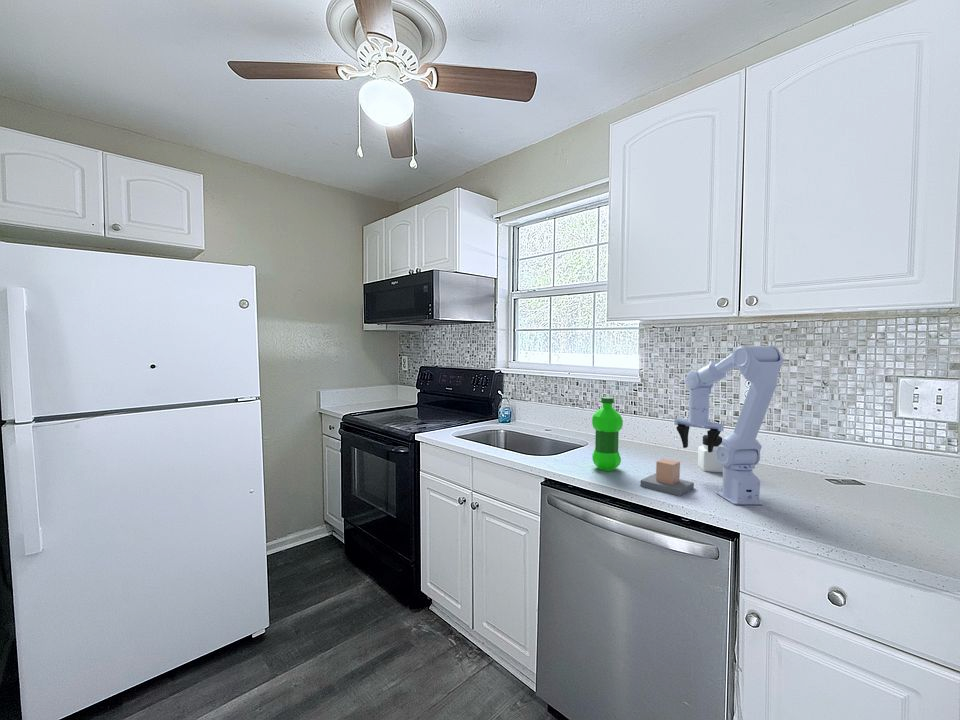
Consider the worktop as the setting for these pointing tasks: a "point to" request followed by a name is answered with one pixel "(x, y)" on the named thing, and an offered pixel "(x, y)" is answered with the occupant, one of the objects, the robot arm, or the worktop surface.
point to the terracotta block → (668, 471)
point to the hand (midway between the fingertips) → (697, 449)
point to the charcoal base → (667, 485)
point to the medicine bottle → (709, 456)
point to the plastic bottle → (606, 436)
